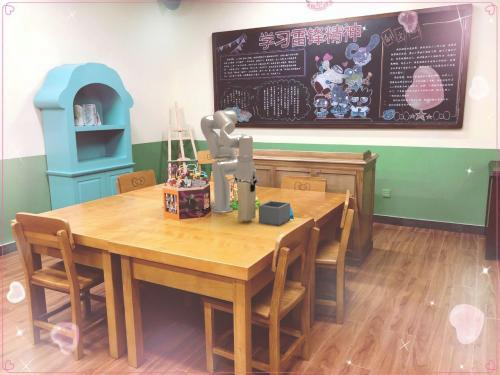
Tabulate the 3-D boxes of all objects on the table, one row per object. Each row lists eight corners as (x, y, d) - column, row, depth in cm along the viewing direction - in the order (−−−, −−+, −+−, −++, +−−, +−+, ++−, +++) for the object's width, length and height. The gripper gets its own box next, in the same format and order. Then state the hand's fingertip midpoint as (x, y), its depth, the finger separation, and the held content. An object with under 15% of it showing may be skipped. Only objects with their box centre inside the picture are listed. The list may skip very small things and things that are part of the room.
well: (258, 223, 228) (258, 205, 226) (270, 217, 239) (270, 200, 237) (279, 226, 222) (279, 208, 220) (289, 220, 233) (289, 203, 231)
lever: (292, 225, 239) (287, 210, 255) (293, 215, 236) (288, 200, 252) (281, 226, 238) (276, 210, 254) (281, 215, 235) (277, 200, 251)
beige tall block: (245, 215, 236) (245, 179, 231) (255, 218, 231) (256, 181, 227) (236, 218, 230) (236, 181, 225) (246, 221, 225) (246, 183, 221)
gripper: (228, 158, 225) (229, 190, 229) (256, 160, 216) (256, 193, 220) (236, 156, 231) (236, 187, 235) (263, 159, 222) (263, 191, 226)
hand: (246, 190), depth 227 cm, fingers closed on beige tall block, 7 cm apart
